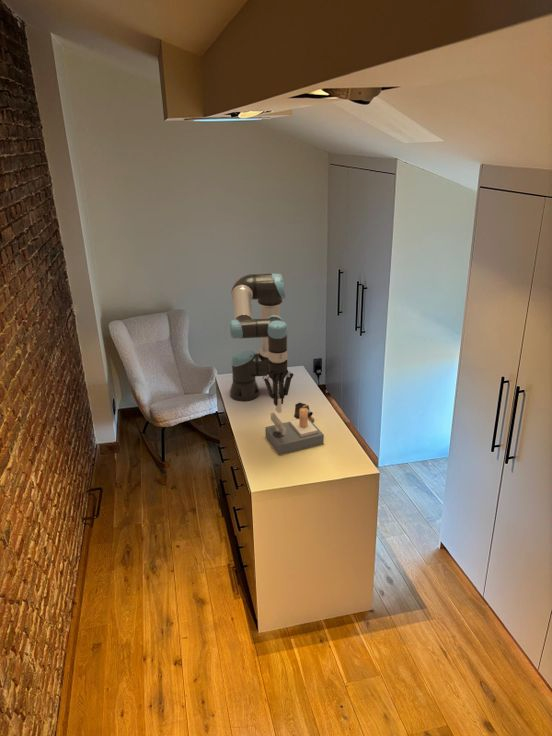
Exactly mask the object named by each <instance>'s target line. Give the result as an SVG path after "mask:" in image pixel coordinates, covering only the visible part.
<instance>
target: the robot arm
mask: <svg viewBox="0 0 552 736" xmlns="http://www.w3.org/2000/svg"><path fill="white" fill-rule="evenodd" d="M283 278H284V277H283V275H282V274H281V273H273V272H272V273H256V274H254V273H253V274H252V273H251V274H250V273H249V274H247V275H243V276H242V277H240V278H239V279H238V280H236V282H235V283H234V284H233V286H232V288H231V291H230V292H231V299H232V300H233V304H234V305H233V308H234V309H233V312H234V319H232V320H230V322H229V327H230V328H229V329H230V338H232V339H239V340H241V339H253V338H254V339H255V338H260V339H261V348H259V350H258V353H256V352H255V351H254V350H253V349H241V350H238V351H237V352H235V353H234V354H233V355H232V356H231V366H232V367H231V368H232V370H231V374H232V381H231V382H232V383H231V385H230V389H229V396H230V397H231V398H232V399H233V400H235V401H239V402H248V401H252V400H255V399H257V398H258V397H259V396H260V388H259V385H258V383H257V380H256V377H262V380H263V381H264V382H265V387H266V390H267V393H268V396H269V397H270V399H273V400H272V401H273V405H274V406H275V411H276V413H278V414H281V413H282V405H283V404H284V399H285V396H288V395H289V392H290V391H289V389H290V385H291V382H292V378H293V377H294V373H293V372H292V371H289V369H288V333H289V332H288V331H289V330H288V324H287V323H286V322H284V320H283V318H282V317H281V316H280V305H282V303H283V300H284V299H286V289H285V282H284V279H283ZM252 300H257V304H258V305H260V314H261V315H260V316H261V317H260V318H254V319H253V309H252ZM270 380H271V381H272V386H271V382H270Z"/></svg>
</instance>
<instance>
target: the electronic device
mask: <svg viewBox="0 0 552 736" xmlns="http://www.w3.org/2000/svg"><path fill="white" fill-rule="evenodd" d="M294 406H295V408H294V416H293V417H294V418H296V419H299V410H300V408H307V409H308V418H309V419H310V420H311V421H312V422H314V421H315V418H314V417H312V415H313V413H314V412H313V411H311V410H310V406H309V405H308V404H305V403H302V402H298V403H295V405H294Z"/></svg>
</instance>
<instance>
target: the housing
mask: <svg viewBox="0 0 552 736" xmlns="http://www.w3.org/2000/svg"><path fill="white" fill-rule="evenodd" d="M308 420H309V421H310V422H311V423H312V425H313V426H314V427H315V428H316V429H317V430H318V433H316V434H312V435H308V436H304V437H300V435H299V434H298V433H297V432H296V431H295V430H294V428H293V427H292V426H291V425H290V421H287V422H282V423H283V425H284V426H285V427H286V434H285V435H282V433H281V434H280V435H277V434H276V426H275V424H273V425H269V426H265V429H264V430H265V431H264V432H265V438H266V439H267V440H268V443H270V445H271V446H272V447H273V449H274V450H275V451H276V453H277V454H278V455H279V456H283V455H285V454H290V453H294V452H299V451H303V450H305V449H310V448H314V447H318V446H322V445H324V441H325V438H324V437H325V435H324V433H323V432H322V431H321V430H320V429H319V428H318V426H317V425H315V423H314V421H311V420H310V419H309V418H308Z"/></svg>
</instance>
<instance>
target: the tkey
mask: <svg viewBox="0 0 552 736" xmlns="http://www.w3.org/2000/svg"><path fill="white" fill-rule="evenodd" d="M270 420H271V422H272V423H273V425H275V426H276V434H277V435H280V434H281V433H282V435H285V434H286V427H285V426H284V425H283V423H284V422H282V421H281V419H280V418H279V417H278V416H277V415H276V413H275V412H272V413H270Z"/></svg>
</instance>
